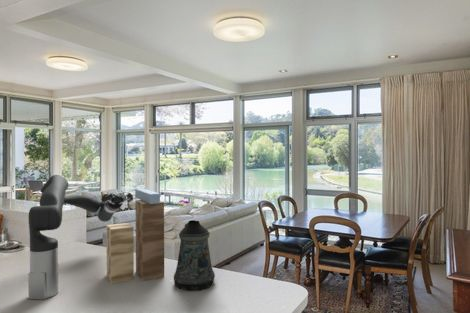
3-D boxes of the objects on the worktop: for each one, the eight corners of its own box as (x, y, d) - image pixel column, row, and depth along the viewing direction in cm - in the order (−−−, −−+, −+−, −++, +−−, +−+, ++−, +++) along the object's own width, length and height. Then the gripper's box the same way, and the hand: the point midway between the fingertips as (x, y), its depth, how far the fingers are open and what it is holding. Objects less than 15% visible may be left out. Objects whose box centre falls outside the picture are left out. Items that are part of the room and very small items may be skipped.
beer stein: (194, 295, 125) (194, 228, 125) (160, 283, 137) (160, 222, 136) (223, 281, 138) (222, 221, 138) (189, 271, 150) (189, 215, 150)
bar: (159, 203, 141) (159, 193, 141) (150, 203, 139) (150, 194, 138) (143, 196, 161) (143, 188, 161) (135, 197, 159) (135, 189, 159)
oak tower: (133, 279, 141) (133, 226, 141) (111, 283, 136) (111, 229, 136) (128, 271, 150) (127, 222, 149) (106, 275, 145) (106, 225, 145)
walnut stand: (164, 276, 144) (164, 202, 144) (143, 280, 139) (143, 203, 139) (155, 268, 154) (155, 198, 154) (135, 272, 150) (135, 200, 149)
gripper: (97, 197, 170) (104, 188, 158) (126, 196, 178) (135, 187, 165) (98, 212, 168) (105, 203, 155) (127, 210, 176) (136, 201, 163)
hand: (121, 195), depth 160 cm, fingers open, 8 cm apart
